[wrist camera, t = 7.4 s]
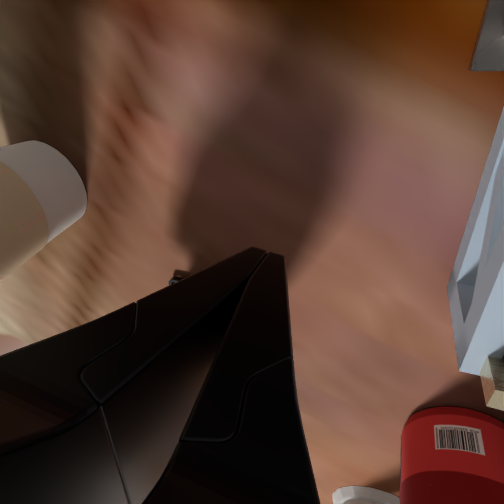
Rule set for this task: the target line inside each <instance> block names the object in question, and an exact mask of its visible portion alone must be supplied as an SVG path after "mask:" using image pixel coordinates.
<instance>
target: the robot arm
mask: <svg viewBox="0 0 504 504" xmlns="http://www.w3.org/2000/svg"><path fill="white" fill-rule="evenodd" d="M0 504H320V500H319V496H318V492H317V487H316V483H315V478H314V474H313V470H312V465H311V461H310V457H309V452H308V448H307V443H306V439H305V435H304V430H303V426H302V420H301V415H300V410H299V404H298V398H297V390H296V382H295V372H294V361H293V349H292V336H291V323H290V310H289V297H288V284H287V271H286V259H285V256H283V255H280V254H277V253H273V252H269V253H268V252H267V251H266V250H263V249H260V248H256V247H250V248H248V249H246V250H244V251H242V252H240V253H237V254H235V255H233V256H231V257H229V258H227V259H225V260H223V261H220V262H218V263H216V264H214V265H212V266H210V267H208V268H205V269H203V270H201V271H199V272H197V273H195V274H193V275H191V276H188V277H186V278H184V279H183V278H178V277H172V278H171V279H170V281H169V286H167V287H165V288H163V289H161V290H159V291H157V292H154V293H152V294H150V295H148V296H146V297H144V298H142V299H140V300H138V301H137V302H136V303H135V302H133V303H131V304H129V305H127V306H124V307H122V308H120V309H118V310H116V311H114V312H111V313H109V314H107V315H104V316H102V317H100V318H98V319H95V320H93V321H91V322H88V323H85V324H83V325H80V326H78V327H75V328H73V329H70V330H68V331H65V332H63V333H60V334H57V335H55V336H52V337H49V338H46V339H44V340H41V341H38V342H36V343H33V344H30V345H28V346H25V347H22V348H20V349H17V350H14V351H12V352H9V353H6V354H4V355H1V356H0Z"/></svg>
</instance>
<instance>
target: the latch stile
mask: <svg viewBox="0 0 504 504" xmlns="http://www.w3.org/2000/svg"><path fill="white" fill-rule="evenodd" d="M479 373H480V378H481V382H482V387H483V392H484V397H485V402H486V406H488V407H492V408H495V409H499V410H502V411H504V355H503V357H502V359H499V358H494V357H490V356H487V358H486V360H485V362H484V364H483V366H482V368H481V370H480V372H479Z"/></svg>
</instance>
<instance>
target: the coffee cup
mask: <svg viewBox="0 0 504 504" xmlns="http://www.w3.org/2000/svg"><path fill="white" fill-rule="evenodd" d="M86 208H87V194H86V190H85V187H84V184H83V182H82V180H81V178H80V176H79V174H78V172H77V171H76V169H75V168H74V167H73V165H72V164H71V163H70V162H69V160H68V159H67V158H66V157H65V156H64V155H62V154H61V153H60V152H59V151H58V150H56V149H55V148H53V147H52V146H50V145H48V144H46V143H43V142H40V141H26V142H21V143H17V144H13V145H8V146H4V147H0V281H2V280H3V279H4V278H5V277H7V276H8V275H9V274H11V273H12V272H13V271H14V270H16V269H17V268H18V267H20V266H21V265H22V264H23V263H25V262H26V261H27V260H28V259H30V258H31V257H32V256H34V255H35V254H36V253H37V252H39V251H40V250H41V249H43V248H44V247H45V245H46V244H47V243H48V242H49V241H51V240H52V239H53V238H55V237H56V236H57V235H59V234H60V233H61V232H63V231H64V230H65V229H66V228H68V227H69V226H70V225H72V224H73V223H74V222H76V221H77V220H78V219H80V218H81V217H82V216H83V215H84V213H85V211H86Z"/></svg>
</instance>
